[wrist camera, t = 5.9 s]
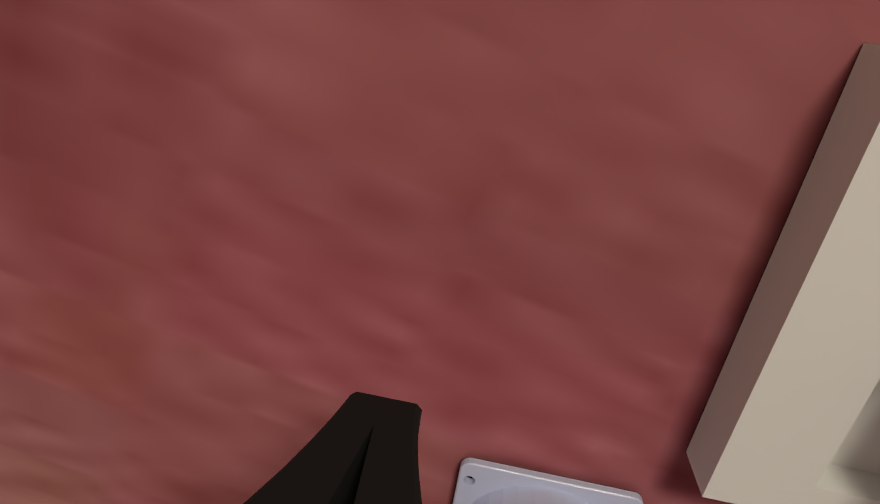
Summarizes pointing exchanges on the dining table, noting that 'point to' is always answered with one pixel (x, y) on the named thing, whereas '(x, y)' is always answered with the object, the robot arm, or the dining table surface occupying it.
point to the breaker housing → (810, 336)
